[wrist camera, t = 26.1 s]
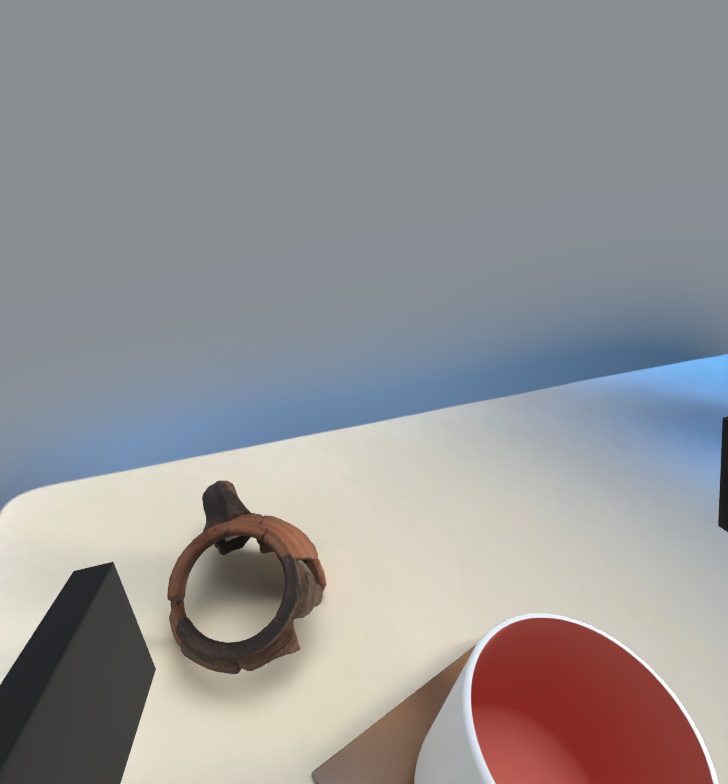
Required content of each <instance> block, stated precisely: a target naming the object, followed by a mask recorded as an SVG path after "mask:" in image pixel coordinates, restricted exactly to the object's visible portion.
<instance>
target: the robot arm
mask: <svg viewBox="0 0 728 784" xmlns="http://www.w3.org/2000/svg"><path fill="white" fill-rule="evenodd" d="M718 526H720V527H721V528H723V529H724V530H725V531H727V532H728V417H724V418H723V425H722V450H721V474H720V498H719V523H718ZM155 670H156V668H155V666H154V663H153V661H152V658H151V656H150V653H149V651H148V648H147V646H146V643H145V641H144V638H143V636H142V633H141V631H140V628H139V626H138V623H137V621H136V618H135V615H134V613H133V610H132V608H131V605H130V603H129V600H128V598H127V595H126V593H125V590H124V588H123V585H122V583H121V580H120V578H119V575H118V573H117V570H116V568H115V565H114V563H113V562H111V563H106V564H102V565H98V566H94V567H89V568H85V569H81V570H77V571H74V572H73V573H72V575H71V576H70V578H69V579H68V581H67V582H66V584H65V585H64V587H63V589H62V590H61V592H60V593H59V595H58V596H57V598H56V599H55V601H54V602H53V604H52V606H51V607H50V609H49V610H48V612H47V613H46V615H45V616H44V618H43V620H42V621H41V623H40V624H39V626H38V627H37V629H36V630H35V632H34V633H33V635H32V637H31V638H30V640H29V641H28V643H27V644H26V646H25V647H24V649H23V650H22V652H21V654H20V655H19V657H18V658H17V660H16V661H15V663H14V664H13V666H12V668H11V669H10V671H9V672H8V674H7V675H6V677H5V678H4V680H3V681H2V683H1V685H0V784H120V783H121V780H122V777H123V773H124V770H125V767H126V764H127V760H128V757H129V754H130V751H131V747H132V744H133V741H134V738H135V734H136V731H137V728H138V725H139V722H140V718H141V715H142V712H143V709H144V705H145V702H146V699H147V696H148V692H149V689H150V686H151V683H152V679H153V676H154V673H155Z"/></svg>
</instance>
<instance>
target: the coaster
mask: <svg viewBox="0 0 728 784" xmlns="http://www.w3.org/2000/svg"><path fill="white" fill-rule="evenodd" d="M476 645H477V644H476ZM476 645H475V646H476ZM475 646H474V647H473V648H471V649H470V650H469V651H467V652H466V653H465V654H464V655H462V656H461V657H460V658H458V659H457V660H456V661H455V662H453V663H452V664H451V665H449V666H448V667H447V668H446V669H444V670H443V671H442V672H440V673H439V674H438V675H437V676H435V677H434V678H433V679H431V680H430V681H429V682H428V683H426V684H425V685H424V686H422V687H421V688H420V689H419V690H417V691H416V692H415V693H413V694H412V695H411V696H410V697H408V698H407V699H406V700H404V701H403V702H402V703H401V704H399V705H398V706H397V707H395V708H394V709H393V710H392V711H390V712H389V713H388V714H386V715H385V716H384V717H383V718H381V719H380V720H379V721H377V722H376V723H375V724H374V725H372V726H371V727H370V728H369V729H367V730H366V731H365V732H363V733H362V734H361V735H360V736H358V737H357V738H356V739H354V740H353V741H352V742H351V743H349V744H348V745H347V746H345V747H344V748H343V749H342V750H340V751H339V752H338V753H336V754H335V755H334V756H333V757H331V758H330V759H329V760H327V761H326V762H325V763H324V764H322V765H321V766H320V767H318V768H317V769H316V770H315V771H313V772H312V777H313V779H314V781H315V783H316V784H414V777H415V770H416V764H417V760H418V756H419V753H420V750H421V747H422V744H423V742H424V740H425V738H426V736H427V734H428V732H429V730H430V728H431V726H432V725H433V723H434V721H435V719H436V717H437V715H438V714H439V712H440V710H441V708H442V706H443V704H444V703H445V701H446V699H447V697H448V695H449V694H450V692H451V690H452V688H453V686H454V684H455V683H456V681H457V679H458V677H459V675H460V673H461V672H462V670H463V668H464V666H465V664H466V663H467V661H468V659H469V657H470V655H471V653H472V652H473V650H474V648H475Z"/></svg>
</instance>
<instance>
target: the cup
mask: <svg viewBox="0 0 728 784" xmlns="http://www.w3.org/2000/svg"><path fill="white" fill-rule="evenodd" d="M414 784H718V780H717V777H716V773H715V770H714V767H713V764H712V761H711V759H710V756H709V753H708V751H707V749H706V746H705V744H704V742H703V740H702V738H701V736H700V734H699V732H698V730H697V728H696V727H695V725H694V723H693V721H692V720H691V718H690V716H689V715H688V713H687V712H686V710H685V709H684V707H683V706H682V704H681V703H680V701H679V700H678V699H677V697H676V696H675V695H674V693H673V692H672V691H671V690H670V688H669V687H668V686H667V685H666V684H665V683H664V681H663V680H662V679H661V678H660V677H659V676H658V675H657V674H656V673H655V672H654V671H653V670H652V669H651V668H650V667H649V666H648V665H647V664H646V663H645V662H644V661H643V660H642V659H640V658H639V657H638V656H637V655H636V654H635V653H633V652H632V651H631V650H630V649H628V648H627V647H626V646H624V645H623V644H621V643H620V642H618V641H617V640H616V639H614V638H612V637H611V636H609V635H607V634H606V633H604V632H602V631H600V630H598V629H596V628H594V627H592V626H590V625H588V624H585V623H583V622H580V621H577V620H574V619H571V618H568V617H564V616H559V615H554V614H544V613H534V614H524V615H519V616H515V617H512V618H509V619H507V620H504V621H503V622H501V623H499V624H497V625H496V626H494V627H493V628H491V629H490V630H489V631H488V632H487V633H486V634H485V635H484V636H483V637H482V638H481V639H480V641H479V642H478V643H477V645H476V646H475V648H474V650H473V652H472V653H471V655H470V657H469V659H468V661H467V663H466V664H465V666H464V668H463V670H462V672H461V673H460V675H459V677H458V679H457V681H456V683H455V684H454V686H453V688H452V690H451V692H450V694H449V695H448V697H447V699H446V701H445V703H444V704H443V706H442V708H441V710H440V712H439V714H438V715H437V717H436V719H435V721H434V723H433V725H432V726H431V728H430V730H429V732H428V734H427V736H426V738H425V740H424V742H423V744H422V747H421V750H420V753H419V756H418V760H417V764H416V770H415V777H414Z"/></svg>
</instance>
